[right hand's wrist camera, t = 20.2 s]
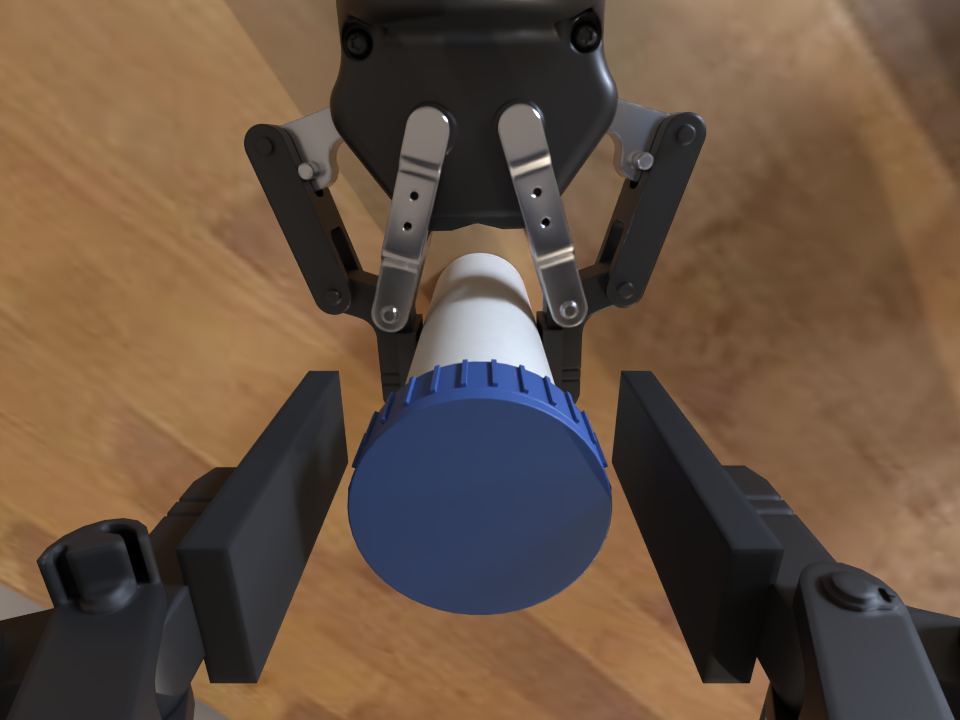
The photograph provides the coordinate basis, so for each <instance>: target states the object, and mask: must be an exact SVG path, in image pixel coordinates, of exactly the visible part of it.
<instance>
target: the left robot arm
mask: <svg viewBox="0 0 960 720" xmlns="http://www.w3.org/2000/svg"><path fill="white" fill-rule="evenodd" d="M336 5H337V15H338V24H339V33H340V42H341V64H340V70H339V74H338V77H337V80H336V83H335V85H334V88H333V90H332V93H331V98H330V107H329V108H326V109H323V110H321V111H318V112H316V113H313V114H310V115H308V116H305V117H303V118H300V119H297V120H295V121H292V122H290V123H287V124H284V125H282V126H280V125H269V124H257V125H255V126H253V127H251V128H250V129H249V130H248V132H247V133H246V135H245V139H244V147H245V151H246V153H247V156H248V158H249V160H250V162H251V164H252V166H253V168H254V171H255V173H256V175H257V177H258V179H259V181H260V184H261V186H262V188H263V190H264V192H265V194H266V196H267V199H268V201H269V203H270V205H271V207H272V209H273V212H274V214H275V216H276V218H277V220H278V222H279V225H280V227H281V229H282V231H283V233H284V235H285V237H286V240H287V242H288V244H289V246H290V248H291V250H292V253H293V255H294V257H295V259H296V261H297V263H298V265H299V268H300V270H301V272H302V274H303V276H304V278H305V281H306V283H307V285H308V287H309V289H310V291H311V293H312V296H313V298H314V300H315V302H316V304H317V306H318V307H319V308H320V309H321V310H322V311H324V312H326V313H328V314H332V315H337V314H341V313H346V314H349V315H352V316H355V317H359V318H361V319H364V320H365V321H367V322H368V323H369V324H370V325H371V326H372V327H373V328H374V330H375V332H376V335H377V342H378V351H379V361H380V371H381V381H382V390H383V400H384V402H385V403H386V401H387V398H388V395H389V394H390V393H391V392H393V393H394V394H395V393H396V392H397V391H398V390H399V389H400V388H402V387H403V386H404V385H405V383H406V380H407V377H408V374H409V370H410V367H411V364H412V361H413V358H414V354H415V351H416V348H417V345H418V342H419V338H420V335H421V332H422V329H423V318H422V314H416V308H415V301H416V297H417V293H418V289H419V285H420V280H421V276H422V272H423V268H424V263H425V259H426V255H427V252H428V248H429V245H430V241H431V236H432V232H433V231H449V230H455V229H458V228H461V227H465V226H468V225H471V224H475V223H480V224H484V225H488V226H492V227H496V228H500V229H520V228H523V230H524V234H525V237H526V240H527V243H528V246H529V249H530V252H531V256H532V259H533V262H534V266H535V269H536V272H537V276H538V279H539V283H540V286H541V289H542V293H543V311H537V312H536V325H537V329H538V332H539V335H540V338H541V342H542V345H543V348H544V351H545V355H546V358H547V361H548V364H549V368H550V371H551V374H552V377H553V381H554V384H555V386H556V387H558V388H559V389H561V390H562V391H563V392H564V393H566V392H567V391H568V392H569V393H570V394H571V397H572V400H573V403H574V404H575V403H576V401H577V399H578V397H579V394H580V368H581V348H582V331H583V327H584V325H585V323H586V321H587V320H588V319H589V318H590V317H591V316H592V315H594V314H595V313H597V312H600V311H602V310H605V309H608V308H611V307H613V306H617V307H620V308H628V307H631V306H633V305H635V304H636V303H638V302H639V301H640V299H641V298H642V296H643V294H644V291H645V289H646V286H647V284H648V281H649V279H650V276H651V273H652V271H653V268H654V266H655V263H656V261H657V258H658V256H659V253H660V251H661V248H662V246H663V243H664V241H665V238H666V236H667V233H668V231H669V228H670V226H671V223H672V221H673V218H674V216H675V213H676V211H677V208H678V206H679V203H680V201H681V198H682V196H683V193H684V191H685V188H686V186H687V183H688V181H689V178H690V176H691V173H692V170H693V168H694V165H695V163H696V160H697V158H698V155H699V153H700V150H701V148H702V145H703V143H704V140H705V137H706V126H705V123H704V121H703V120H702V118H701V117H700V116H698V115H697V114H695V113H691V112H684V113H681V112H677V113H671V114H667V113H664V112H661V111H657V110H654V109H651V108H648V107H645V106H642V105H638V104H635V103H632V102H629V101H626V100H622V99H619V98H618V93H617V88H616V85H615V82H614V80H613V78H612V76H611V74H610V71H609V69H608V66H607V63H606V59H605V54H604V47H603V31H604V9H605V0H336ZM605 133H607V134H608V135H609V136H610V137H611V138H612V140H613V142H614V145H615V154H614V159H613V164H614V168H615V171H616V172H617V174H618V175H619V176H621V177H622V178H625V181H624V184H623V187H622V190H621V193H620V195H619V198H618V201H617V204H616V207H615V209H614V212H613V215H612V218H611V221H610V223H609V226H608V229H607V232H606V235H605V237H604V240H603V243H602V246H601V249H600V252H599V254H598V257H597V260H596V263H595V265H592V266H589V267H587V268H584V269H581V270H579V271H578V268H577V264H576V260H575V256H574V246H573V242H572V238H571V235H570V231H569V227H568V223H567V220H566V216H565V212H564V208H563V205H562V201H561V195H562V194H563V192H564V191H565V189H566V188H567V187H568V185H569V184H570V182H571V181H572V180H573V178H574V177H575V175H576V174H577V173H578V171H579V170H580V168H581V167H582V166H583V164H584V163H585V161H586V160H587V159H588V157H589V156H590V154H591V153H592V151H593V150H594V149H595V147H596V146H597V144H598V143H599V142H600V140H601V139H602V137H603V136H604V135H605ZM343 141H345V143H346V144H347V145H348V146H349V148H350V149H351V150H352V151H353V153H354V154H355V155H356V156H357V158H358V159H359V160H360V161H361V163H362V164H363V165H364V166H365V168H366V169H367V170H368V171H369V173H370V174H371V175H372V176H373V178H374V179H375V180H376V181H377V183H378V184H379V185H380V186H381V188H382V189H383V190H384V191H385V193H386V194H387V195H388V196H389V198H390V199H391V200H392V203H391V208H390V213H389V218H388V223H387V228H386V233H385V238H384V243H383V248H382V254H381V259H382V262H381V267H380V272H379V276H377V275H374V274H371V273H368V272H365V271H363V269H362V267H361V264H360V262H359V260H358V257H357V255H356V252H355V250H354V248H353V245H352V243H351V241H350V238H349V236H348V233H347V231H346V229H345V226H344V224H343V222H342V219H341V217H340V214H339V212H338V210H337V207H336V205H335V203H334V200H333V198H332V195H331V193H330V191H329V188H328V187H330V186H332V185H333V184H334V183H335V182H336V180H337V178H338V174H339V168H338V164H337V158H336V156H337V150H338V148H339V146H340V144H341V143H342V142H343Z"/></svg>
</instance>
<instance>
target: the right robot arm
mask: <svg viewBox="0 0 960 720" xmlns="http://www.w3.org/2000/svg"><path fill="white" fill-rule="evenodd" d="M347 464H348V455H347V446H346V436H345V427H344V417H343V408H342V398H341V389H340V379H339V371H309V372H308V373H307V374H306V376H305V377H304V378H303V380H302V381H301V382H300V384H299V385H298V386H297V388H296V389H295V390H294V392H293V393H292V394H291V396H290V397H289V398H288V400H287V401H286V402H285V404H284V405H283V406H282V408H281V409H280V410H279V412H278V413H277V414H276V416H275V417H274V418H273V420H272V421H271V422H270V424H269V425H268V426H267V428H266V429H265V430H264V432H263V433H262V434H261V436H260V437H259V438H258V440H257V441H256V442H255V444H254V445H253V446H252V448H251V449H250V450H249V452H248V453H247V454H246V456H245V457H244V458H243V460H242V461H241V462H240V464H239V465H238V466H237V467H216V468H214V469H213V470H211V471H210V472H208V473H207V474H205V475H203V476H202V477H200V478H199V479H197V480H196V481H194V482H193V483H192V484H191V486H190V487H189V488H188V489H187V490H186V492H185V493H184V494H183V495H182V496H181V497H180V499H179V502H176V503H175V505H174V506H173V507H172V508H171V509H170V510H169V512H168V515H167V516H164V518H163V519H162V520H161V521H160V522H159V523H158V525H157V526H156V527H155V528H154V529H153V531H152V532H151V533H150V534H148V530H147V527H146V526H145V525H143V524H142V523H141V522H139V521H138V520H132V519H126V518H120V519H111V520H103V521H100V522H97V523H93V524H90V525H86V526H83V527H81V528H79V529H77V530H75V531H73V532H71V533H69V534H67V535H64V536H63V537H61V538H60V539H59V540H57V541H56V542H55V543H53V544H52V545H50V546H49V547H48V548H47V549H46V550H45V551H44V552H43V553H42V555H41V556H40V557H39V558H38V560H37V564H38V566H39V569H40V572H41V574H42V577H43V579H44V582H45V585H46V587H47V590H48V592H49V595H50V598H51V600H52V603H53V605H54V608H52V609H49V610H45V611H40V612H36V613H32V614H27V615H23V616H19V617H14V618H10V619H6V620H1V621H0V720H193V717H194V707H195V703H194V696H193V691H192V687H191V681H192V679H193V677H194V676H195V674H196V672H197V670H198V668H199V666H200V664H201V662H202V661H203V659H204V661H205V665H206V669H207V673H208V676H209V680H210V683H257V682H258V679H259V677H260V675H261V672H262V670H263V667H264V665H265V663H266V660H267V658H268V655H269V653H270V650H271V648H272V646H273V643H274V641H275V638H276V636H277V634H278V631H279V629H280V626H281V624H282V621H283V619H284V617H285V614H286V612H287V609H288V607H289V604H290V602H291V600H292V597H293V595H294V592H295V590H296V588H297V585H298V583H299V580H300V578H301V575H302V573H303V571H304V568H305V566H306V563H307V561H308V558H309V556H310V554H311V551H312V549H313V546H314V544H315V542H316V539H317V537H318V534H319V532H320V529H321V527H322V525H323V522H324V520H325V517H326V515H327V512H328V510H329V508H330V505H331V503H332V500H333V498H334V496H335V493H336V491H337V488H338V486H339V483H340V481H341V479H342V476H343V474H344V471H345V469H346V467H347ZM612 464H613V467H614V469H615V471H616V474H617V476H618V479H619V481H620V483H621V486H622V488H623V491H624V493H625V496H626V498H627V500H628V503H629V505H630V508H631V510H632V513H633V515H634V517H635V520H636V522H637V525H638V527H639V529H640V532H641V534H642V537H643V539H644V542H645V544H646V546H647V549H648V551H649V554H650V556H651V558H652V561H653V563H654V566H655V568H656V571H657V573H658V575H659V578H660V580H661V583H662V585H663V588H664V590H665V592H666V595H667V597H668V600H669V602H670V604H671V607H672V609H673V612H674V614H675V617H676V619H677V621H678V624H679V626H680V629H681V631H682V634H683V636H684V638H685V641H686V643H687V646H688V648H689V650H690V653H691V655H692V658H693V660H694V663H695V665H696V667H697V670H698V672H699V675H700V677H701V679H702V682H703V683H750V680H751V676H752V673H753V669H754V665H755V661H756V657H757V658H758V660H759V662H760V663H761V665H762V667H763V669H764V671H765V673H766V674H767V676H768V678H769V680H770V683H769V687H768V691H767V694H766V698H765V701H764V705H763V708H762V712H761V716H760V719H759V720H960V618H956V617H952V616H948V615H943V614H939V613H935V612H930V611H926V610H921V609H917V608H913V607H909V606H906V605H905V604H904V603H903V602H902V600H901V599H900V597H899V596H898V594H897V593H896V592H895V591H894V590H892V589H891V588H890V587H889V586H888V585H886V584H885V583H884V582H883V581H881V580H880V579H878V578H876V577H875V576H873V575H871V574H869V573H867V572H865V571H863V570H862V569H859V568H855V567H852V566H849V565H846V564H843V563H838V562H836V561H835V560H834V559H833V557H832V556H831V555H830V554H829V553H828V551H827V550H826V549H825V548H824V547H823V546H822V544H821V543H820V542H819V541H818V540H817V539H816V537H815V536H814V535H813V534H812V533H811V532H810V530H809V529H808V528H807V527H806V526H805V524H804V523H803V522H802V521H801V520H800V519H799V517H798V516H797V515H794V514H793V510H792V509H791V508H790V507H789V506H788V505H787V503H786V502H785V501H784V500H781V496H780V495H779V494H778V493H777V492H776V490H775V489H774V488H773V487H772V486H771V485H770V483H769V482H768V481H767V480H766V479H764V478H763V477H761V476H760V475H758V474H757V473H755V472H753V471H752V470H750V469H749V468H747V467H746V466H722V465H721V464H720V462H719V461H718V460H717V458H716V457H715V456H714V454H713V453H712V452H711V450H710V449H709V448H708V446H707V445H706V444H705V442H704V441H703V440H702V438H701V437H700V436H699V434H698V433H697V432H696V430H695V429H694V428H693V426H692V425H691V424H690V422H689V421H688V420H687V418H686V417H685V416H684V414H683V413H682V412H681V410H680V409H679V408H678V406H677V405H676V404H675V402H674V401H673V400H672V398H671V397H670V396H669V394H668V393H667V392H666V390H665V389H664V388H663V386H662V385H661V384H660V382H659V381H658V380H657V378H656V377H655V376H654V374H653V373H652V372H651V371H621V379H620V389H619V398H618V408H617V417H616V427H615V436H614V446H613V455H612Z"/></svg>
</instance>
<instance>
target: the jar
mask: <svg viewBox="0 0 960 720" xmlns="http://www.w3.org/2000/svg"><path fill="white" fill-rule="evenodd" d="M463 359H468V362H472V361H479V362H491V359H496V360H497V363H504V364H508V365H512V366H516V367H519V365H523V366H525V370H528V371H530V372H533V373H535V374H537V375H539V376H541V377H543V378H544V377H545V376H548V377H549V378H550V381H551V383H552V384H554V381H553V377H552V374H551V371H550V368H549V364H548V361H547V358H546V355H545V351H544V348H543V345H542V342H541V338H540V335H539V332H538V329H537V325H536V322H535V319H534V316H533V313H532V309H531V306H530V303H529V300H528V296H527V293H526V290H525V287H524V284H523V281H522V279H521V277H520V275H519V273H518V272H517V270H516V269H515V268H514V267H513V266H512V265H511V264H510V263H509V262H507V261H506V260H504V259H502V258H500V257H498V256H495V255H492V254H488V253H472V254H467V255H465V256H462V257H460V258H458V259H456V260H454V261H453V262H452V263H450V264H449V265H448V266H447V267H446V268H445V269H444V271H443V272H442V273H441V275H440V277H439V279H438V281H437V284H436V287H435V290H434V293H433V296H432V300H431V303H430V306H429V309H428V313H427V316H426V319H425V322H424V325H423V329H422V332H421V335H420V338H419V342H418V345H417V348H416V351H415V354H414V358H413V361H412V364H411V367H410V370H409V374H408V377H407V380H406V383H405V385H406V384H407V383H408V382H409V378H410V377H412V376H414V377H415V378H417V377H419V376H421V375H422V374H424V373H426V372H429V371H432V370H434V367H435V366H436V365H440V367H443V366H447V365H451V364H456V363H462V360H463ZM554 385H555V384H554Z"/></svg>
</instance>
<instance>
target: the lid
mask: <svg viewBox="0 0 960 720" xmlns="http://www.w3.org/2000/svg"><path fill="white" fill-rule="evenodd" d="M352 467H353V468H355V470H354V473H353V476H352V478H351V482H350V485H349V487H348V517H349V523H350V527H351V531H352V535H353V538H354V540H355V542H356V545H357V547H358V549H359V551H360V552H361V554H362V556H363V557H364V559H365V561H366V562H367V563H368V564H369V566H370V567H371V568H372V569H373V571H374V572H375V573H376V574H377V575H378V576H379V577H380V578H381V579H383V580H384V581H385V582H386V583H387V584H388V585H390V586H391V587H392V588H394V589H395V590H396V591H398V592H400V593H401V594H403V595H405V596H407V597H408V598H410V599H412V600H414V601H417V602H419V603H421V604H423V605H426V606H429V607H432V608H435V609H439V610H443V611H447V612H452V613H459V614H468V615H491V614H502V613H507V612H512V611H517V610H521V609H524V608H528V607H531V606H534V605H536V604H538V603H541V602H543V601H546V600H548V599H550V598H551V597H553V596H555V595H557V594H558V593H560V592H562V591H563V590H564V589H566V588H567V587H569V586H570V585H571V584H573V583H574V582H575V581H576V580H577V579H578V578H579V577H580V576H581V575H583V574H584V572H585V571H586V570H587V569H588V568H589V566H590V565H591V564H592V563H593V561H594V560H595V558H596V557H597V555H598V553H599V552H600V550H601V548H602V546H603V544H604V541H605V539H606V537H607V533H608V530H609V526H610V522H611V513H612V495H611V485H610V483H609V480H608V477H607V474H606V472H605V469H604V468H605V467H608V465H607V462H606V460H605V457H604V455H603V452H602V450H601V447H600V445H599V442H598V439H597V437H596V434H595V433H593V430H592V428H591V425H590V422H589V420H588V417H587V415H586V413H585V411H582V412H580V410H579V409H578V408H577V406H576V405H575V404H574V403H573V400H572V397H571V394H570V393H569V392H568V391H567V392H566V393H564V392H563V391H562V390H561V389H559V388H558V387H556V386H555V385H554V384H552V383H551V381H550V378H549V377H548V376H545V377H544V378H543V377H541V376H539V375H537V374H535V373H533V372H530V371H528V370H525V366H523V365H519V367H516V366H512V365H508V364H504V363H497V360H496V359H491V362H479V361H472V362H468V359H463V360H462V363H456V364H451V365H447V366H443V367H440V365H436V366H435V367H434V370H432V371H429V372H426V373H424V374H422V375H421V376H419V377H417V378H415V377H414V376H412V377H410V378H409V382H408V383H407V384H406V385H404V386H403V387H402V388H400V389H399V390H398V391H397V392H396V393H395V394H394V393H393V392H391V393H390V394H389V395H388V398H387V401H386V403H385V405H384V406H383V407H382V409H381V410H380V411H379V413H378V412H376V411H375V412H374V414H373V416H372V419H371V421H370V424H369V426H368V429H367V431H366V433H365V434H364V436H363V439H362V441H361V444H360V446H359V449H358V451H357V454H356V456H355V459H354V461H353V464H352Z"/></svg>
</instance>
